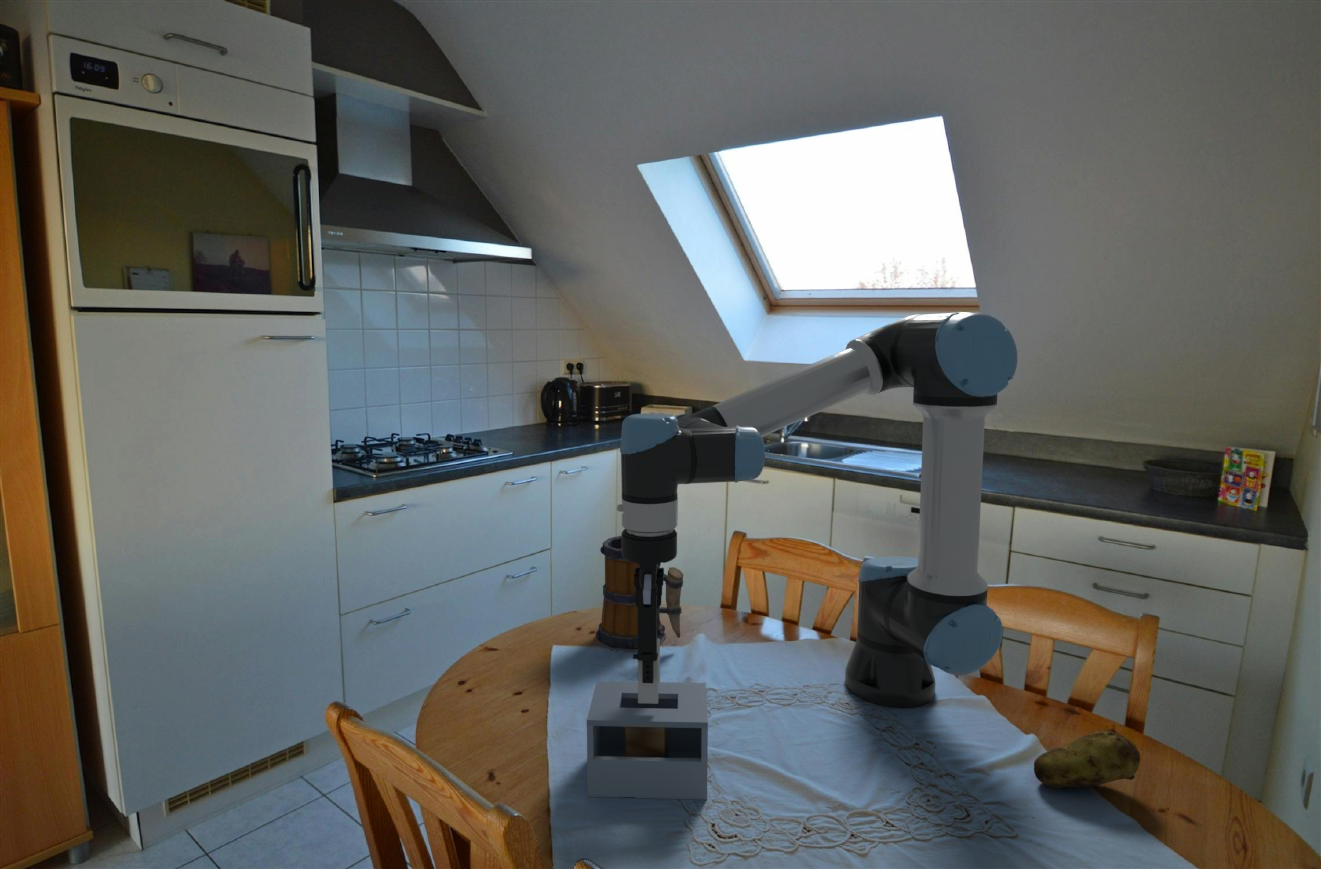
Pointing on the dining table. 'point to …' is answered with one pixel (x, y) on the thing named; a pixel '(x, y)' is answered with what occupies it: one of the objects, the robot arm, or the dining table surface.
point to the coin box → (648, 775)
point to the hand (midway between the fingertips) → (649, 691)
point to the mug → (630, 601)
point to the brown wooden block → (647, 742)
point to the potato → (1088, 761)
